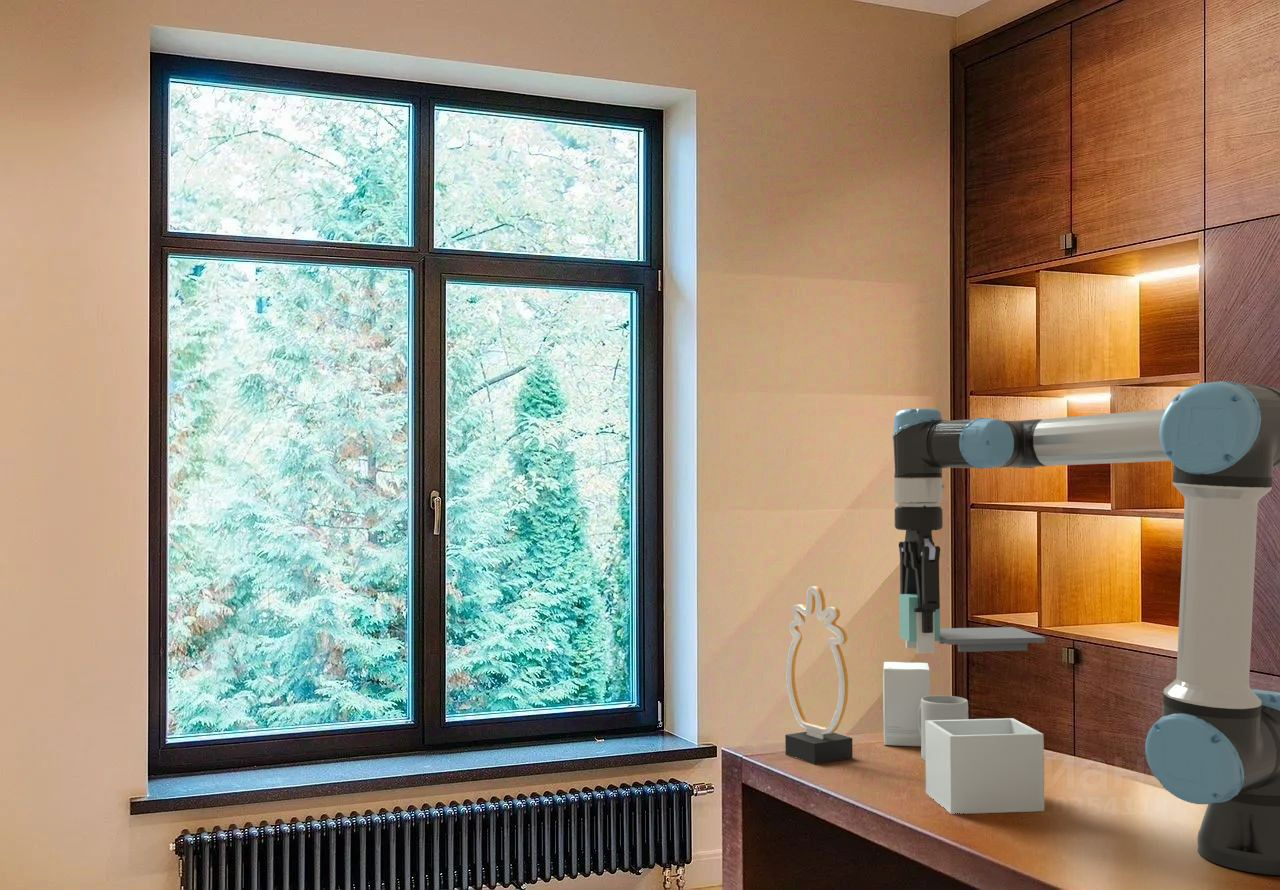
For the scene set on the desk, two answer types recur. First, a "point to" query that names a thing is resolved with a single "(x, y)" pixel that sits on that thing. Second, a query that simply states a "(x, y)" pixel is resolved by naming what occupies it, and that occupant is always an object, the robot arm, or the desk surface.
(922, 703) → the mug
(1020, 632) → the lid
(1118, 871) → the desk surface
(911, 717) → the supplement box
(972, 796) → the tub
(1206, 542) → the robot arm
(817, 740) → the lamp
